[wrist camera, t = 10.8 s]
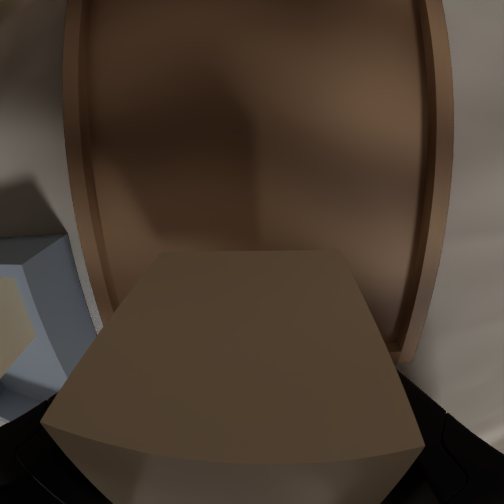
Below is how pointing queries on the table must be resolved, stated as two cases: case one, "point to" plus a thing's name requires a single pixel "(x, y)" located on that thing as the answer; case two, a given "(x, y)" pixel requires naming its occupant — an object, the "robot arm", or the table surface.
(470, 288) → the table surface
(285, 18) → the walnut caddy
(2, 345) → the tan rectangular block
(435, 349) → the table surface
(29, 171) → the table surface
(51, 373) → the slate bin
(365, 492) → the stone
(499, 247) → the table surface
